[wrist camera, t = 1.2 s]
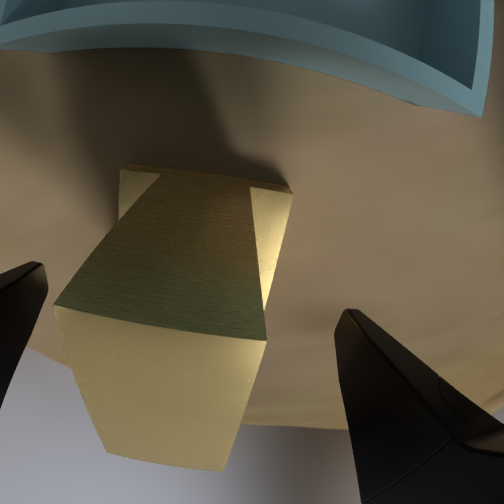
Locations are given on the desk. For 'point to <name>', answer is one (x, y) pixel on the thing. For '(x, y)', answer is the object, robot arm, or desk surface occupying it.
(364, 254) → the desk surface
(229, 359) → the brass bracket
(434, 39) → the blue rectangular open bin
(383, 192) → the desk surface
